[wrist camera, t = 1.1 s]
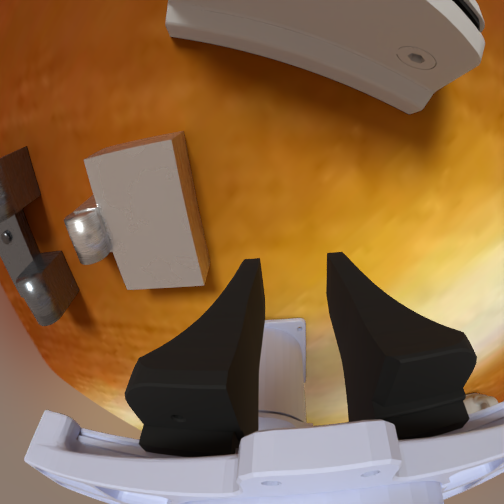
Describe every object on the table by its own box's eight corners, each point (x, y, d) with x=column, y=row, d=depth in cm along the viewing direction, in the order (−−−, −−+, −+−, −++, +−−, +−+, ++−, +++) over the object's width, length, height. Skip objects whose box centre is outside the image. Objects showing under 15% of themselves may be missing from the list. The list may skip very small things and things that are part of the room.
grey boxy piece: (210, 261, 24) (200, 300, 20) (108, 269, 25) (86, 304, 21) (184, 130, 19) (163, 145, 15) (71, 157, 20) (36, 177, 16)
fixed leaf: (79, 290, 26) (54, 326, 22) (27, 291, 27) (3, 321, 23) (26, 146, 19) (-16, 166, 15) (-23, 169, 20) (-58, 190, 15)
